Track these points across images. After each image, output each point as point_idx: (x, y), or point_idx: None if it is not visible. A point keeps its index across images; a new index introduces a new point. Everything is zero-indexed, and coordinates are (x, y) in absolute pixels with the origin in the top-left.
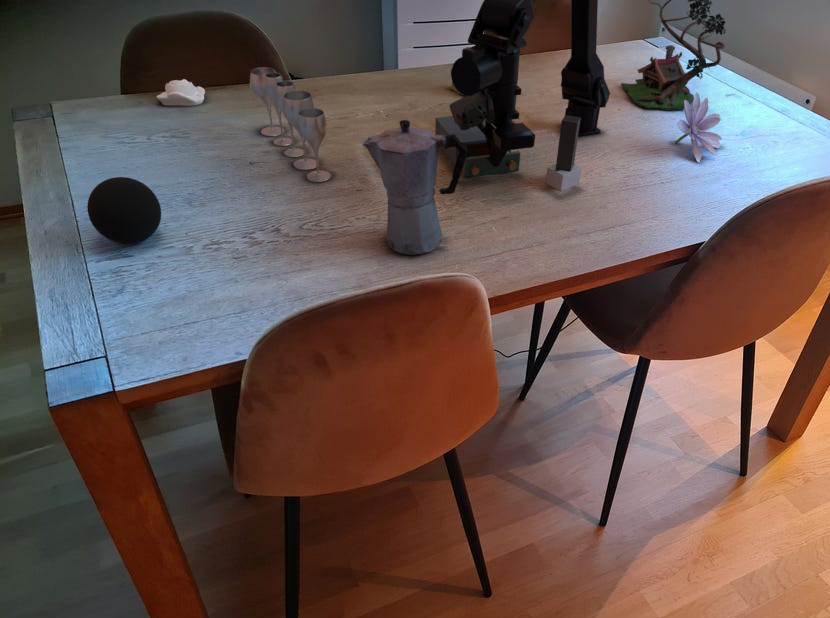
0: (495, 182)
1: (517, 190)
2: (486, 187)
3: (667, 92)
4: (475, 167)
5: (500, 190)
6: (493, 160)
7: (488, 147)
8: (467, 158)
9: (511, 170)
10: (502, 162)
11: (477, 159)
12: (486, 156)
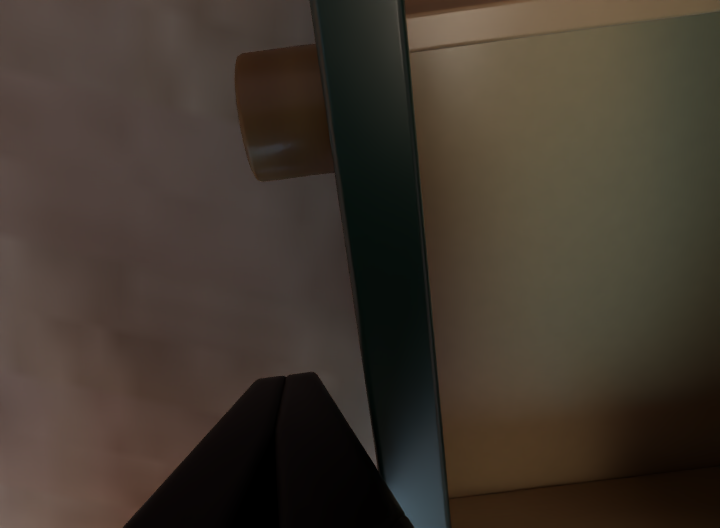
0: (338, 303)
1: (161, 444)
2: (240, 194)
3: None
4: (243, 128)
5: (167, 311)
6: (204, 444)
7: (349, 526)
8: (361, 18)
9: None
10: None
11: (341, 211)
12: (390, 375)
